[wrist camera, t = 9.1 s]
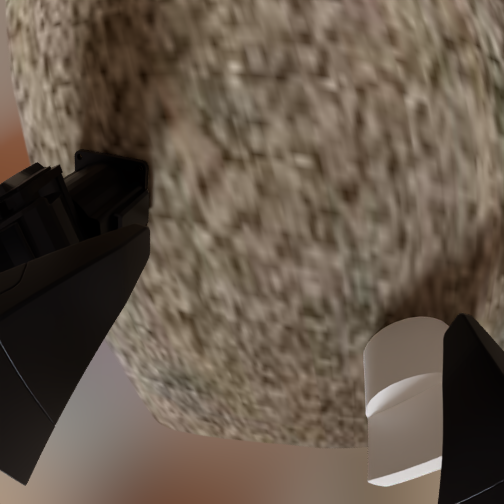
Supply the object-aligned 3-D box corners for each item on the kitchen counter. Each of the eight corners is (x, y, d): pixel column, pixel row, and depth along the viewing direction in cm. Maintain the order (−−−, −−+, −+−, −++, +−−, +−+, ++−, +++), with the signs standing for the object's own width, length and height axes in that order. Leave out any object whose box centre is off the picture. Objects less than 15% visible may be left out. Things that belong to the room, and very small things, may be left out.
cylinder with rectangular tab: (395, 388, 30) (401, 491, 20) (343, 352, 28) (340, 474, 18) (466, 347, 25) (494, 455, 15) (425, 299, 23) (458, 431, 13)
